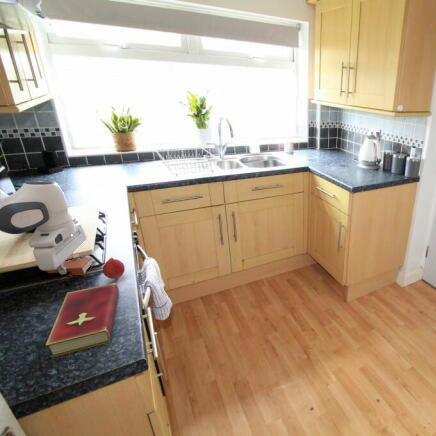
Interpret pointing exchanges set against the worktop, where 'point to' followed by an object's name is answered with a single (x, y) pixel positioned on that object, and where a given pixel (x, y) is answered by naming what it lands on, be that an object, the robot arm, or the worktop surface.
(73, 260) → the pocket book
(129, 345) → the worktop surface
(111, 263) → the red round piece
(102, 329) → the hardcover book
